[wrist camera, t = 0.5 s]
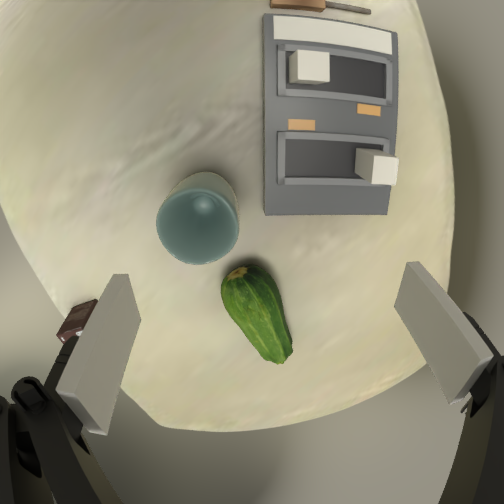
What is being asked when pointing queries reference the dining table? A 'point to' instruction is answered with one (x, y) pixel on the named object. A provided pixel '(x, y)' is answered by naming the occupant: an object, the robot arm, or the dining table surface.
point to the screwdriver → (314, 5)
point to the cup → (199, 219)
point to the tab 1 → (309, 67)
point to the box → (76, 320)
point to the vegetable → (258, 311)
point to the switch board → (327, 116)
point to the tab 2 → (376, 166)
